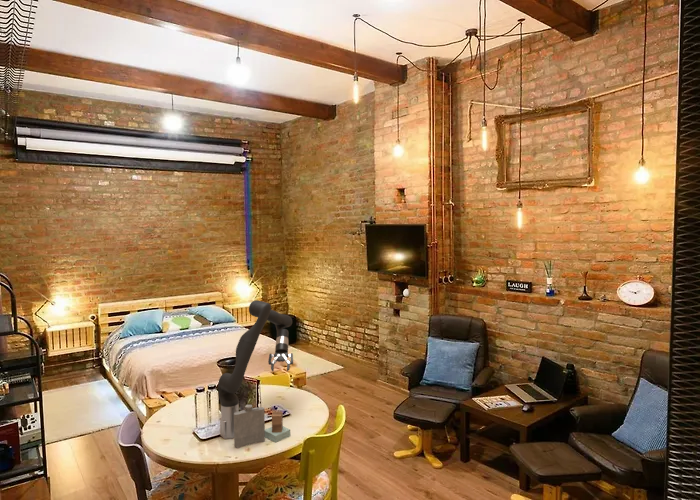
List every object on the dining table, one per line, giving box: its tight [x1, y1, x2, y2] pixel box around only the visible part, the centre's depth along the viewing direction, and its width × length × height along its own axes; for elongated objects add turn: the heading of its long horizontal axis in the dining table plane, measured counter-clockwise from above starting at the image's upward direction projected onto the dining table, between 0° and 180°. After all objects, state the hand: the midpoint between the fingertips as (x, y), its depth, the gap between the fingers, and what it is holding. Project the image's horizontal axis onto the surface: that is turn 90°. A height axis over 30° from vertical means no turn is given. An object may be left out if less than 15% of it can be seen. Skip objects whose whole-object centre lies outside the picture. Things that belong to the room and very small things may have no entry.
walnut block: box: [271, 411, 284, 432], centre depth 246 cm, size 5×5×9 cm
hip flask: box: [233, 404, 266, 449], centre depth 239 cm, size 16×4×20 cm, turn 119°
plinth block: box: [265, 426, 291, 443], centre depth 247 cm, size 10×10×4 cm
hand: (280, 370), depth 267 cm, fingers open, 8 cm apart
